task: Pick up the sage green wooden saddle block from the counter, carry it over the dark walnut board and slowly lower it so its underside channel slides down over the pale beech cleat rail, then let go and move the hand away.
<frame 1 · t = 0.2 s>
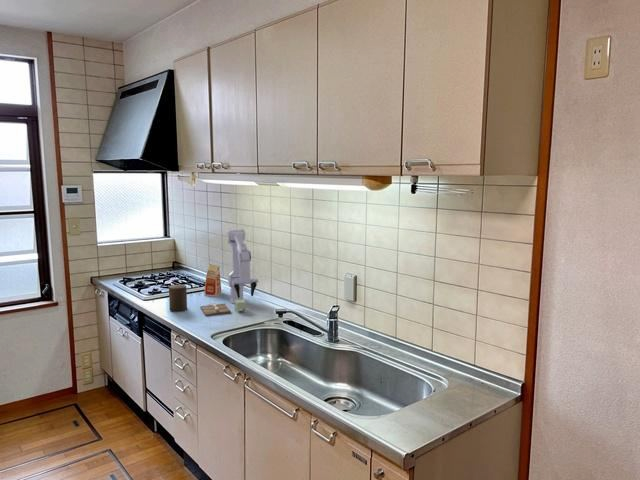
hand: (245, 296, 270), 10 cm above the worktop, tool pointing down, fingers open, 7 cm apart
cleat board: (215, 310, 275), on the worktop
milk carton: (214, 294, 310), on the worktop
pillar candle: (178, 309, 278), on the worktop
saddle block: (240, 311, 275), on the worktop
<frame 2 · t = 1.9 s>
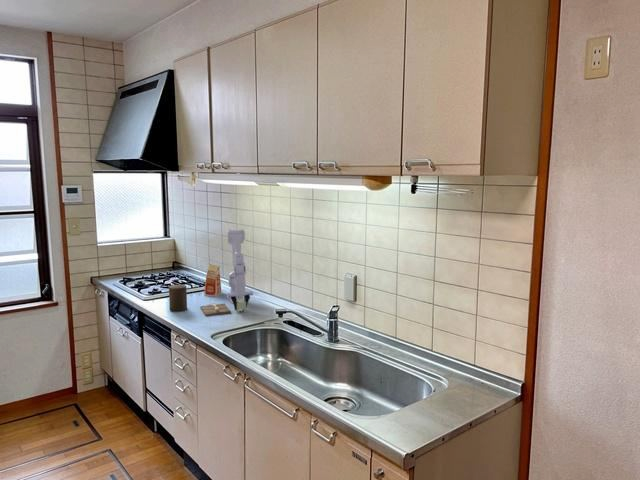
hand: (240, 308, 274), 1 cm above the worktop, tool pointing down, fingers closed on saddle block, 5 cm apart
saddle block: (240, 311, 275), on the worktop, touching gripper
everything else where it was.
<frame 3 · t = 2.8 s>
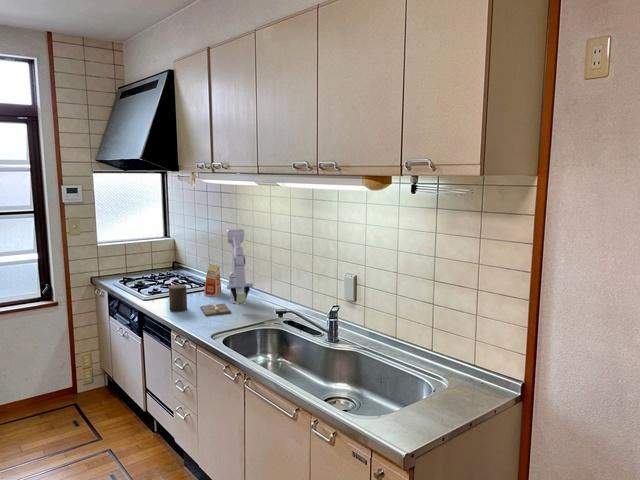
hand: (240, 300, 274), 6 cm above the worktop, tool pointing down, fingers closed on saddle block, 5 cm apart
saddle block: (240, 303, 274), point 5 cm above the worktop, touching gripper
everything else where it was.
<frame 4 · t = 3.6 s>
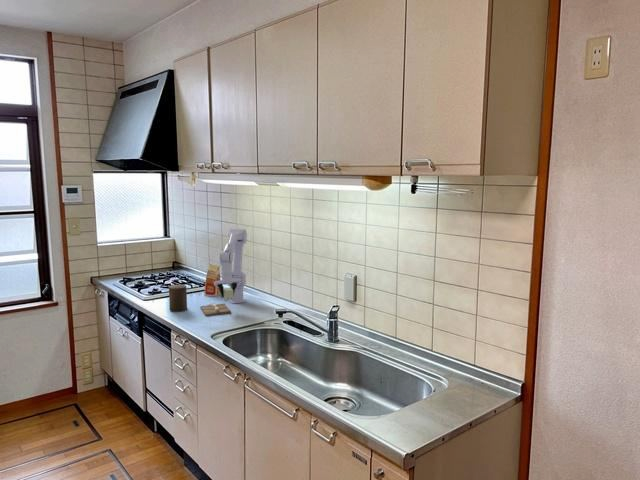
hand: (227, 296, 274), 8 cm above the worktop, tool pointing down, fingers closed on saddle block, 5 cm apart
saddle block: (227, 299, 274), point 7 cm above the worktop, touching gripper
everything else where it was.
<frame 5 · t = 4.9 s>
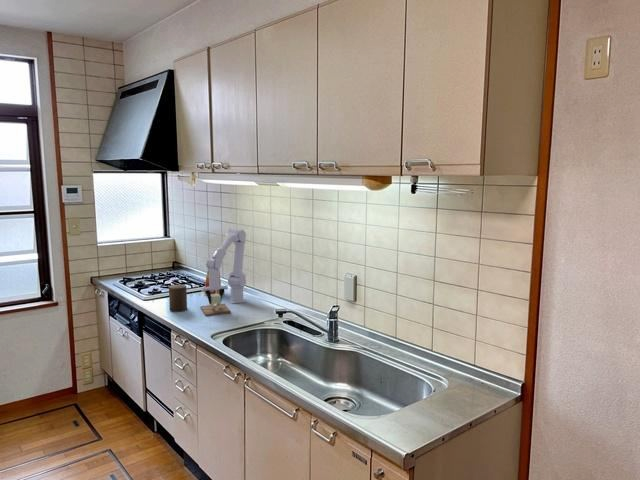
hand: (215, 302, 275), 5 cm above the worktop, tool pointing down, fingers closed on saddle block, 5 cm apart
saddle block: (215, 305, 275), point 3 cm above the worktop, touching gripper
everything else where it was.
when the fingers open (3 cm above the worktop, at t = 5.7 s): saddle block stays where it is, resting on cleat board.
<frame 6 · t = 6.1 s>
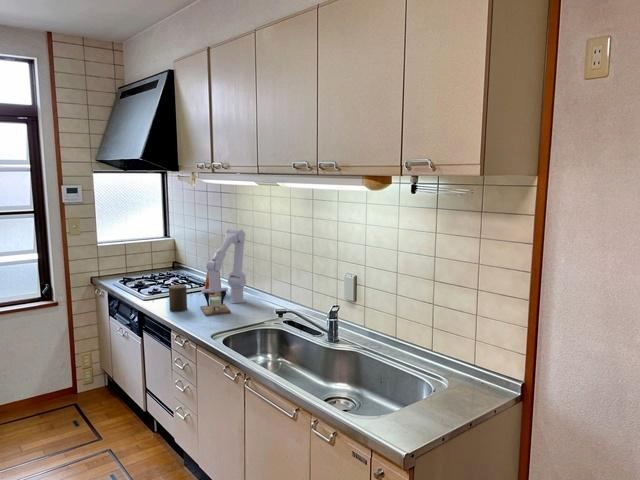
hand: (215, 304, 275), 3 cm above the worktop, tool pointing down, fingers open, 7 cm apart
saddle block: (215, 308, 275), point 1 cm above the worktop, touching cleat board
everything else where it was.
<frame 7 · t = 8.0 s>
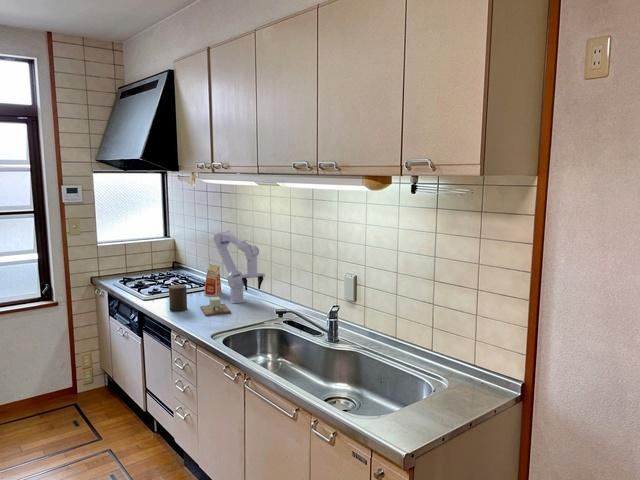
hand: (252, 289, 285), 9 cm above the worktop, tool pointing down, fingers open, 7 cm apart
nothing on the worktop moved.
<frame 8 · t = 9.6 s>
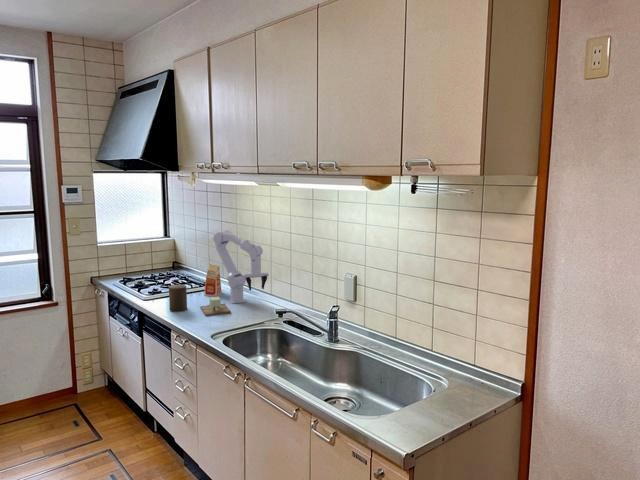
hand: (256, 289, 286), 9 cm above the worktop, tool pointing down, fingers open, 7 cm apart
nothing on the worktop moved.
at the end: saddle block 0.2 cm off-centre on the cleat board, point 1.2 cm above the cleat board's base; saddle block tilted 0°; the gripper is holding nothing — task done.
